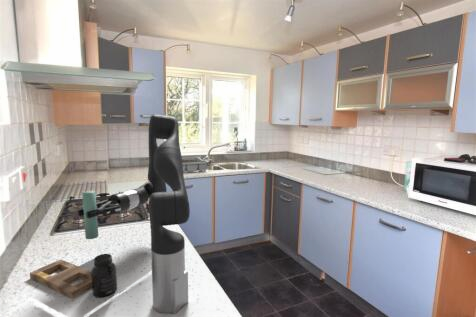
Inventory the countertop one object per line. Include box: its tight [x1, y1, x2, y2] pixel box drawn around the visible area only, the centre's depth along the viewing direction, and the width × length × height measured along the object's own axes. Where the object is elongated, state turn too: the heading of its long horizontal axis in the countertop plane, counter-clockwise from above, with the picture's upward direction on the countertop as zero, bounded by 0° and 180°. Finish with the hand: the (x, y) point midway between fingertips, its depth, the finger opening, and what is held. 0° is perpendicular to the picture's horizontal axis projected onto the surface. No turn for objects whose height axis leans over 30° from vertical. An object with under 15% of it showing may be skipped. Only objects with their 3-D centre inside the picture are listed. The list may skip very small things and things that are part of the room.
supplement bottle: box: [91, 253, 118, 299], centre depth 86 cm, size 7×7×12 cm
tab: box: [78, 258, 94, 271], centre depth 101 cm, size 9×9×1 cm
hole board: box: [29, 258, 92, 300], centre depth 92 cm, size 22×10×3 cm, turn 63°
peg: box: [81, 190, 99, 240], centre depth 98 cm, size 4×4×16 cm
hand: (82, 214), depth 95 cm, fingers closed on peg, 4 cm apart
